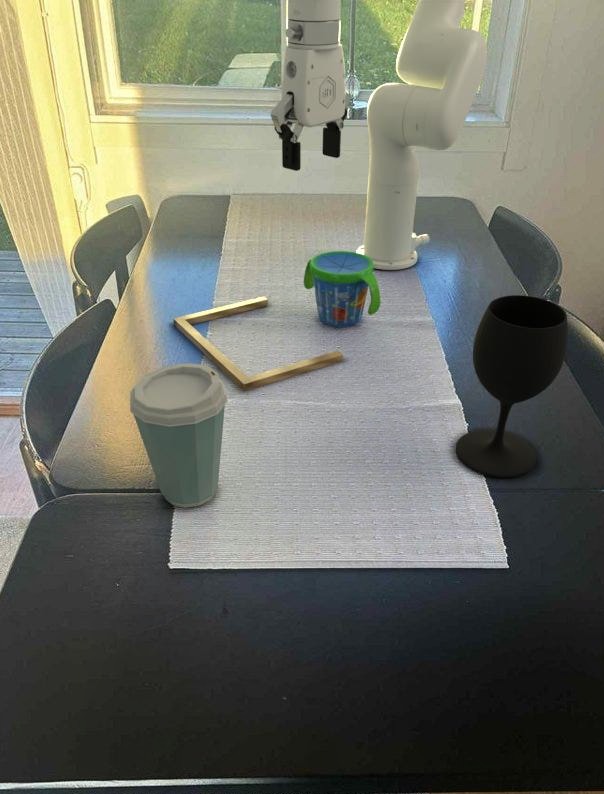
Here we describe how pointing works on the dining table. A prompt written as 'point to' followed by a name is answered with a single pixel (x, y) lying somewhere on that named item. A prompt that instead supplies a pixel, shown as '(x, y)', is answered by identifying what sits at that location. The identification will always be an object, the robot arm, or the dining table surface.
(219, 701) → the dining table surface
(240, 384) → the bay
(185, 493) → the disposable coffee cup
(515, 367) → the wine glass
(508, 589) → the dining table surface
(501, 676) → the dining table surface
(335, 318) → the snack cup
